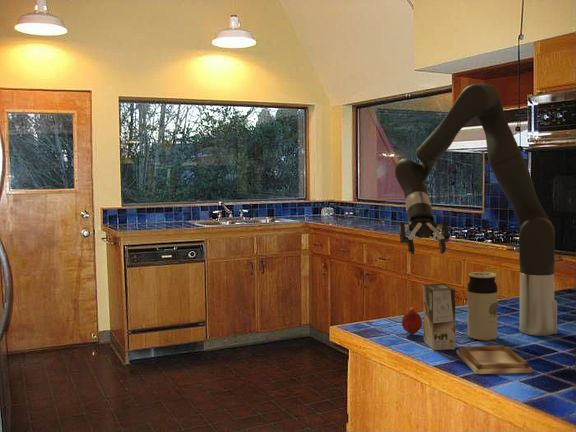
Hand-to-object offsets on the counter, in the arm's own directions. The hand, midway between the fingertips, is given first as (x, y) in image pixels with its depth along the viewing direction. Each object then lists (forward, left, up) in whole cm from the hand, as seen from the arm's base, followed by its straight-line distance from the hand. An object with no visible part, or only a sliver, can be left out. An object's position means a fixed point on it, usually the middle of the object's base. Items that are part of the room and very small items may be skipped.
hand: (427, 252), depth 176 cm
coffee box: (0, +12, -24) cm, 27 cm away
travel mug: (-14, +5, -24) cm, 28 cm away
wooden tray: (-9, +28, -24) cm, 38 cm away
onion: (+5, +1, -24) cm, 24 cm away
